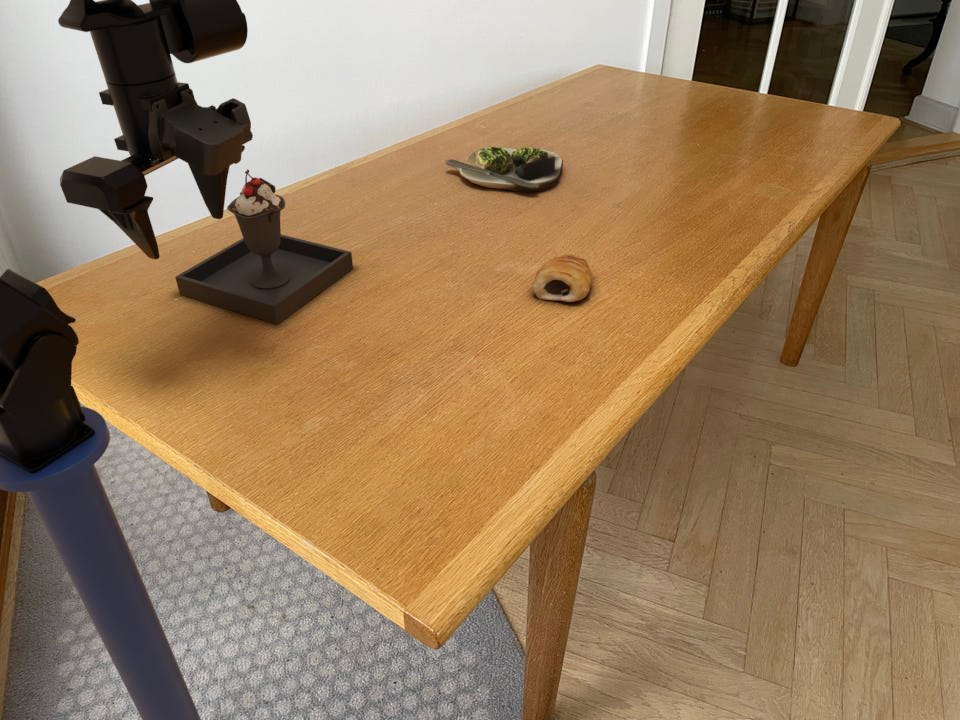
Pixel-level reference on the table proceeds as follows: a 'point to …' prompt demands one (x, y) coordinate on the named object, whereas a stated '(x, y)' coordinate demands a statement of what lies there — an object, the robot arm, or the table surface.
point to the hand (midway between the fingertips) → (187, 237)
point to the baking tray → (236, 264)
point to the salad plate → (511, 168)
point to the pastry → (563, 279)
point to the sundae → (261, 228)
